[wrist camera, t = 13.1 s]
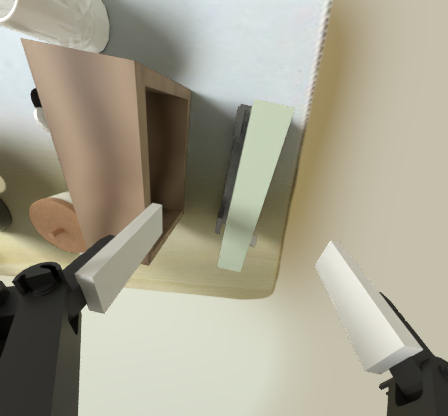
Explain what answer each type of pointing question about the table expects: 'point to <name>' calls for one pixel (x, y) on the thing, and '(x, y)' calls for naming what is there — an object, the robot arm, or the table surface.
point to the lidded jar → (58, 222)
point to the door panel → (253, 179)
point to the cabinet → (114, 137)
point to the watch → (39, 110)
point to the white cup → (59, 22)
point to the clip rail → (234, 162)
